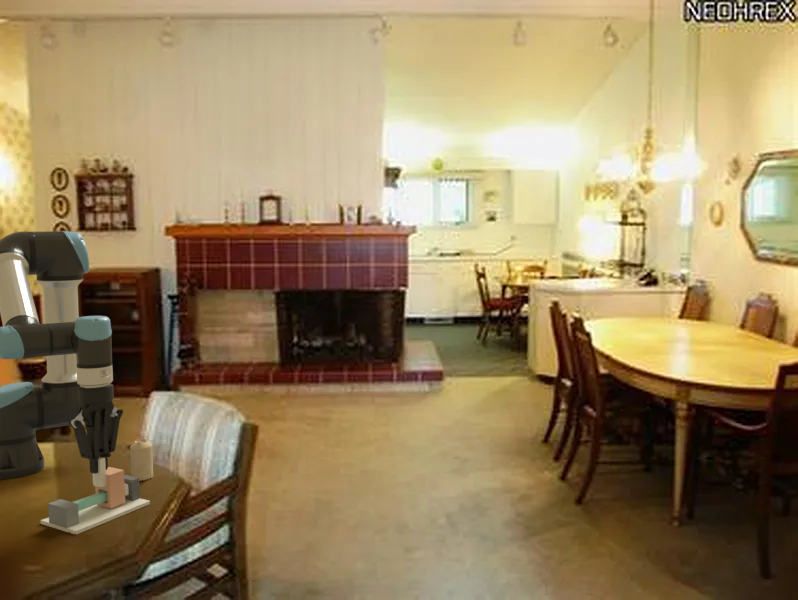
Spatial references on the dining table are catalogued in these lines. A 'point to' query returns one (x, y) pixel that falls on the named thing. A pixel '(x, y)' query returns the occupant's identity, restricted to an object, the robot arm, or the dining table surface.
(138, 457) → the candle
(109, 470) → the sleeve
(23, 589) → the dining table surface
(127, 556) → the dining table surface
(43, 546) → the dining table surface
